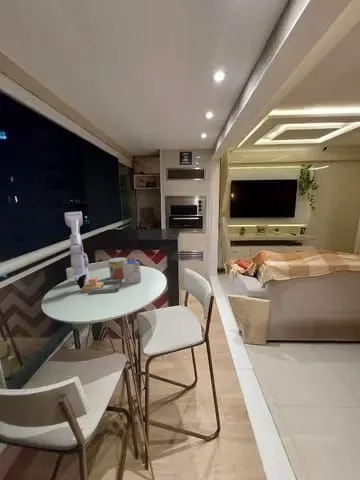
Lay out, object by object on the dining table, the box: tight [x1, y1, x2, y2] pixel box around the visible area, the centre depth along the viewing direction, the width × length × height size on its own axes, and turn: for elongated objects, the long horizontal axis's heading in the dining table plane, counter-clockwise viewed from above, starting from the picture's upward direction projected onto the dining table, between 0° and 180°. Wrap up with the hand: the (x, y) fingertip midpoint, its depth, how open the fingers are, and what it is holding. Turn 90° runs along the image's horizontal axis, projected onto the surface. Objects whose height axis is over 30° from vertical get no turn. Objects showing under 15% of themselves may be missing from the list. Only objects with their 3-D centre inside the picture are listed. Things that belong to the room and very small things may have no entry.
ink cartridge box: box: [122, 257, 142, 285], centre depth 156 cm, size 10×6×14 cm, turn 93°
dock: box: [87, 279, 123, 296], centre depth 149 cm, size 18×16×2 cm
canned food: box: [107, 256, 128, 281], centre depth 166 cm, size 11×11×12 cm
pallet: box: [81, 282, 105, 293], centre depth 149 cm, size 8×10×2 cm
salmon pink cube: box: [87, 276, 99, 287], centre depth 148 cm, size 4×4×4 cm
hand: (82, 288), depth 148 cm, fingers closed, pressing on pallet
